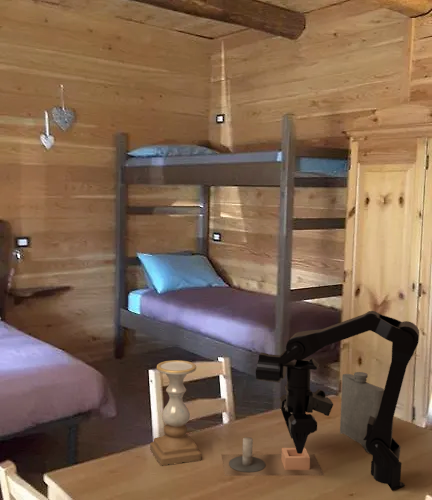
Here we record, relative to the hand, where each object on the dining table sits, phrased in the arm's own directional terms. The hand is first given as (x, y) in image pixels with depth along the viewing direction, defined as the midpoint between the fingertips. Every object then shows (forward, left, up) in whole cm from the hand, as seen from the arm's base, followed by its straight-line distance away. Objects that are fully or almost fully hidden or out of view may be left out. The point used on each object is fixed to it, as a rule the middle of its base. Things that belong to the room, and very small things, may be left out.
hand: (296, 445), depth 164 cm
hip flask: (+4, -26, -7) cm, 27 cm away
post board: (+3, +5, -6) cm, 9 cm away
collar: (0, 0, -5) cm, 5 cm away
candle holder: (+23, +21, -7) cm, 32 cm away
